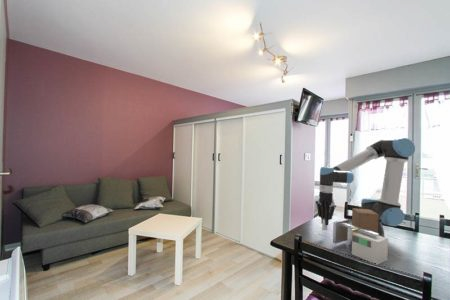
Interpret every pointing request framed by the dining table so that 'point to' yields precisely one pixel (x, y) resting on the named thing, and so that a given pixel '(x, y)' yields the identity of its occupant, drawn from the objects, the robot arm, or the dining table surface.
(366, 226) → the wooden block
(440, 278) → the dining table surface
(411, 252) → the dining table surface
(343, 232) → the gauge plunger
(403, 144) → the robot arm
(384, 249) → the white box
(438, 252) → the dining table surface
